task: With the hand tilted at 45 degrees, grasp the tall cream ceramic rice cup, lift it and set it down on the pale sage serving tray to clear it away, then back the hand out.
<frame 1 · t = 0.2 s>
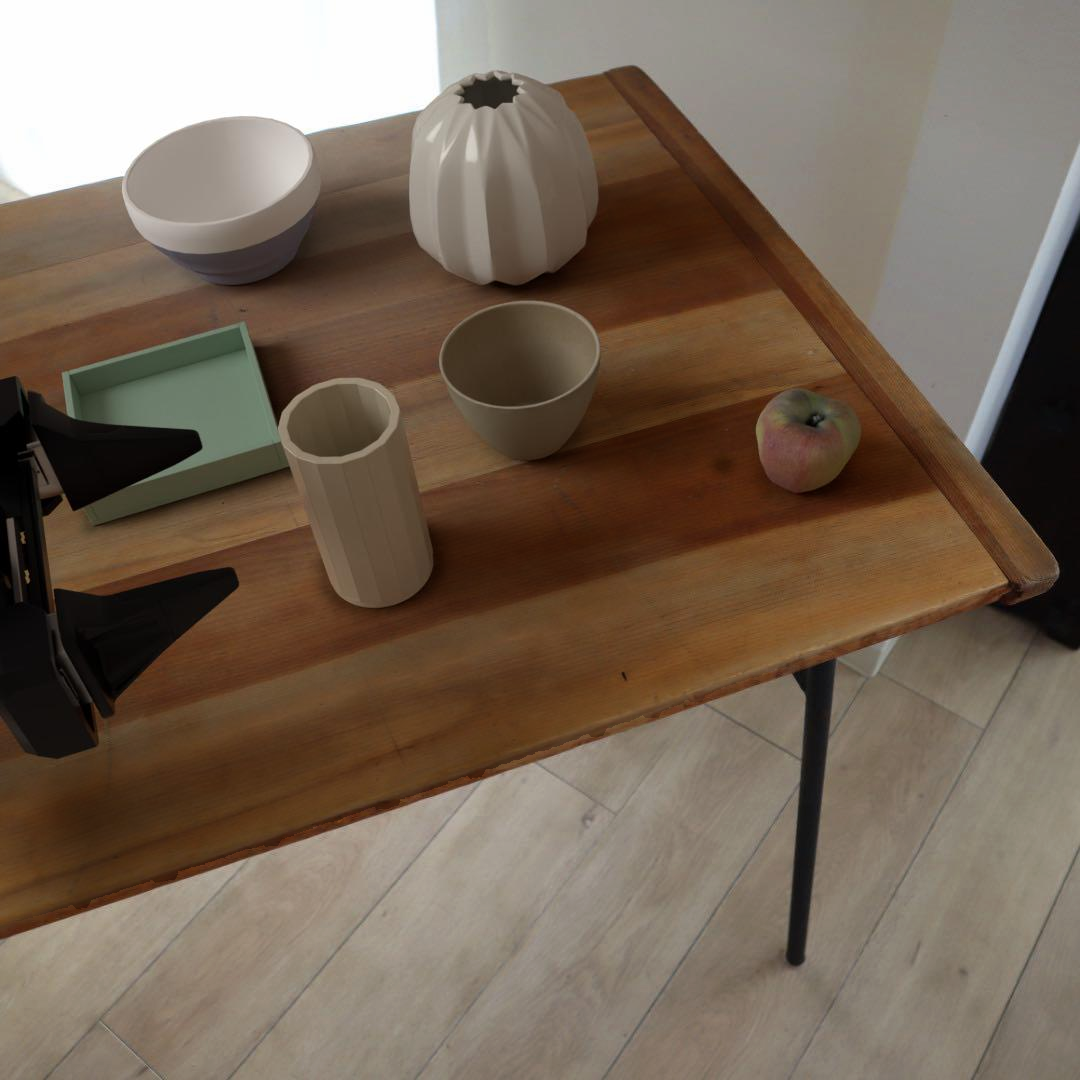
hand: (217, 504, 54), 16 cm above the table, tool horizontal, fingers open, 9 cm apart
rice cup: (381, 565, 72), on the table
bowl: (246, 254, 93), on the table
vase: (509, 254, 90), on the table
serving tray: (178, 430, 80), on the table
flower pot: (529, 435, 78), on the table
apple: (791, 474, 74), on the table
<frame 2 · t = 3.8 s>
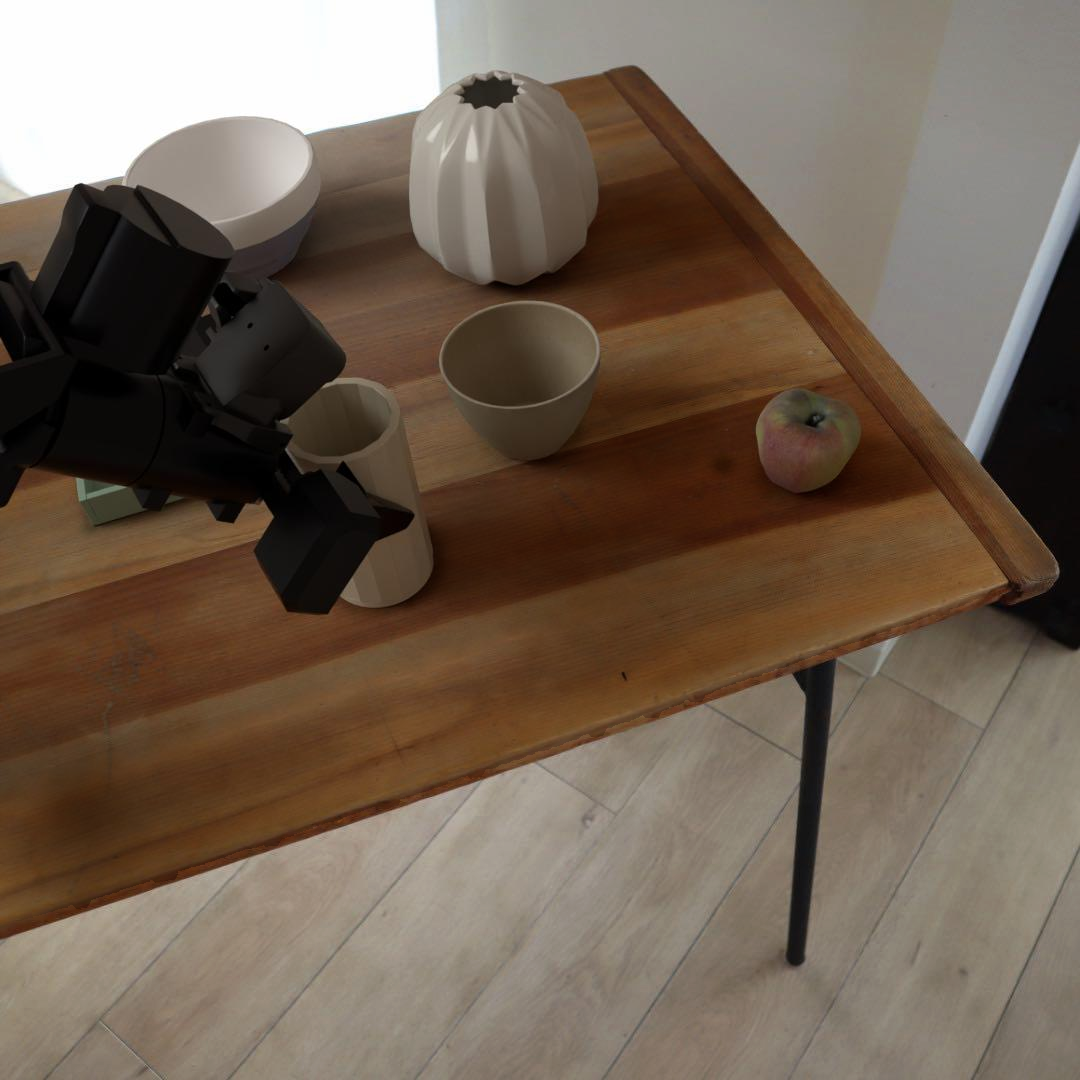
hand: (382, 483, 67), 7 cm above the table, tool tilted 45°, fingers closed on rice cup, 6 cm apart
rice cup: (381, 565, 72), on the table, touching gripper
everything else where it was.
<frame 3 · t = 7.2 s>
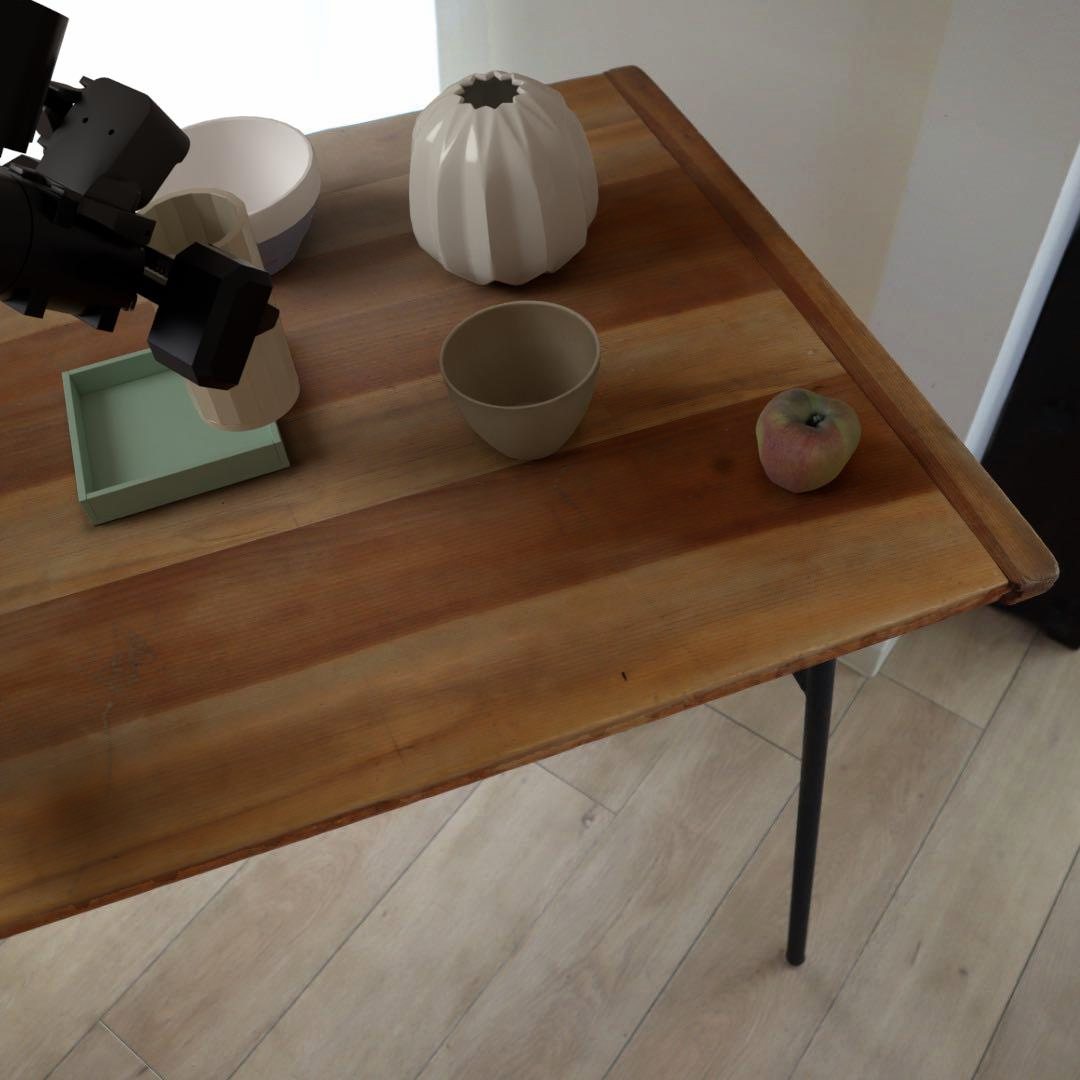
hand: (235, 297, 68), 13 cm above the table, tool tilted 45°, fingers closed on rice cup, 6 cm apart
rice cup: (248, 394, 72), point 7 cm above the table, touching gripper
everything else where it was.
when the fingers open (7 cm above the table, at t = 10.7 s): rice cup stays where it is, resting on serving tray.
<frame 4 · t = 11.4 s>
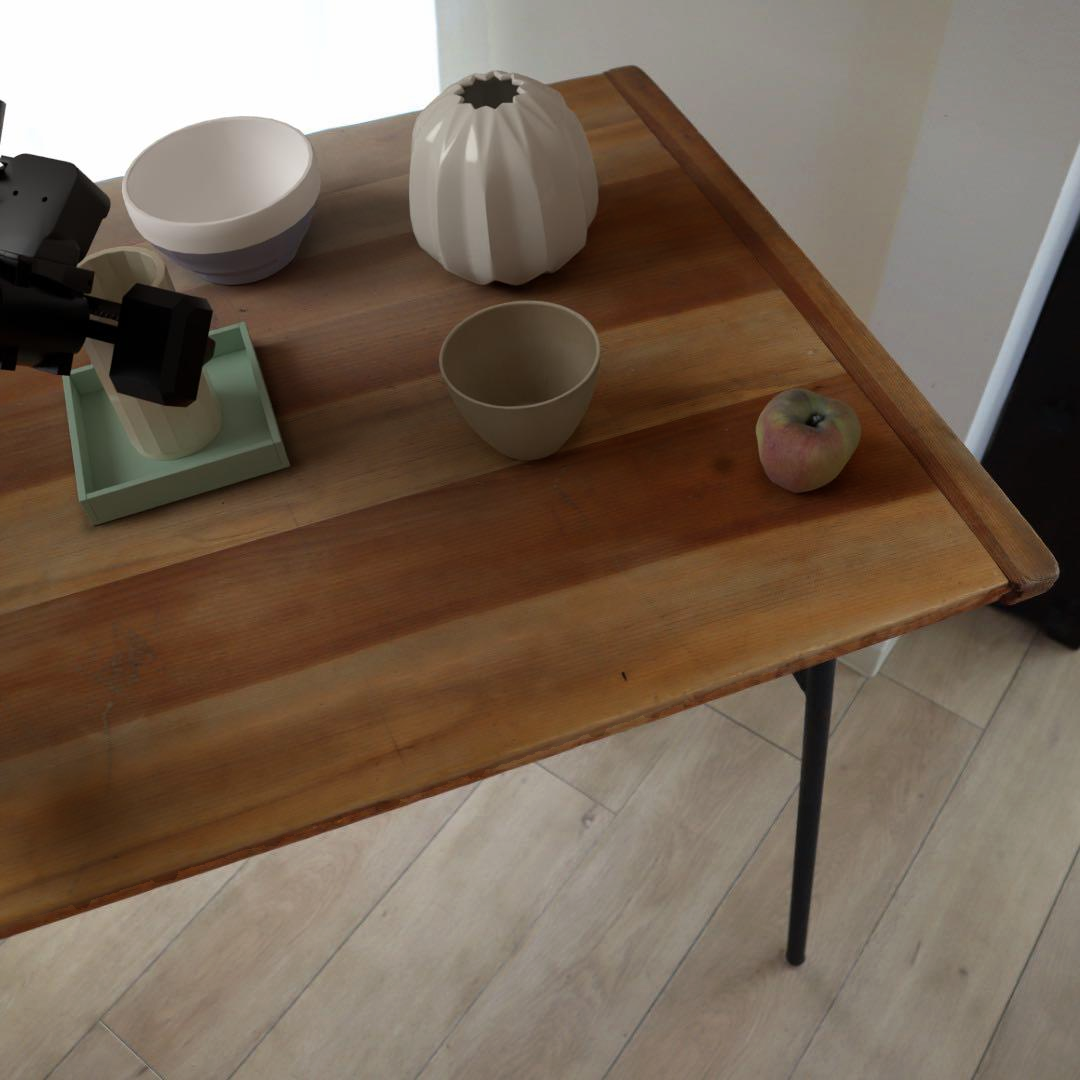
hand: (152, 334, 75), 8 cm above the table, tool tilted 45°, fingers open, 9 cm apart
rice cup: (176, 426, 80), resting on serving tray
everything else where it was.
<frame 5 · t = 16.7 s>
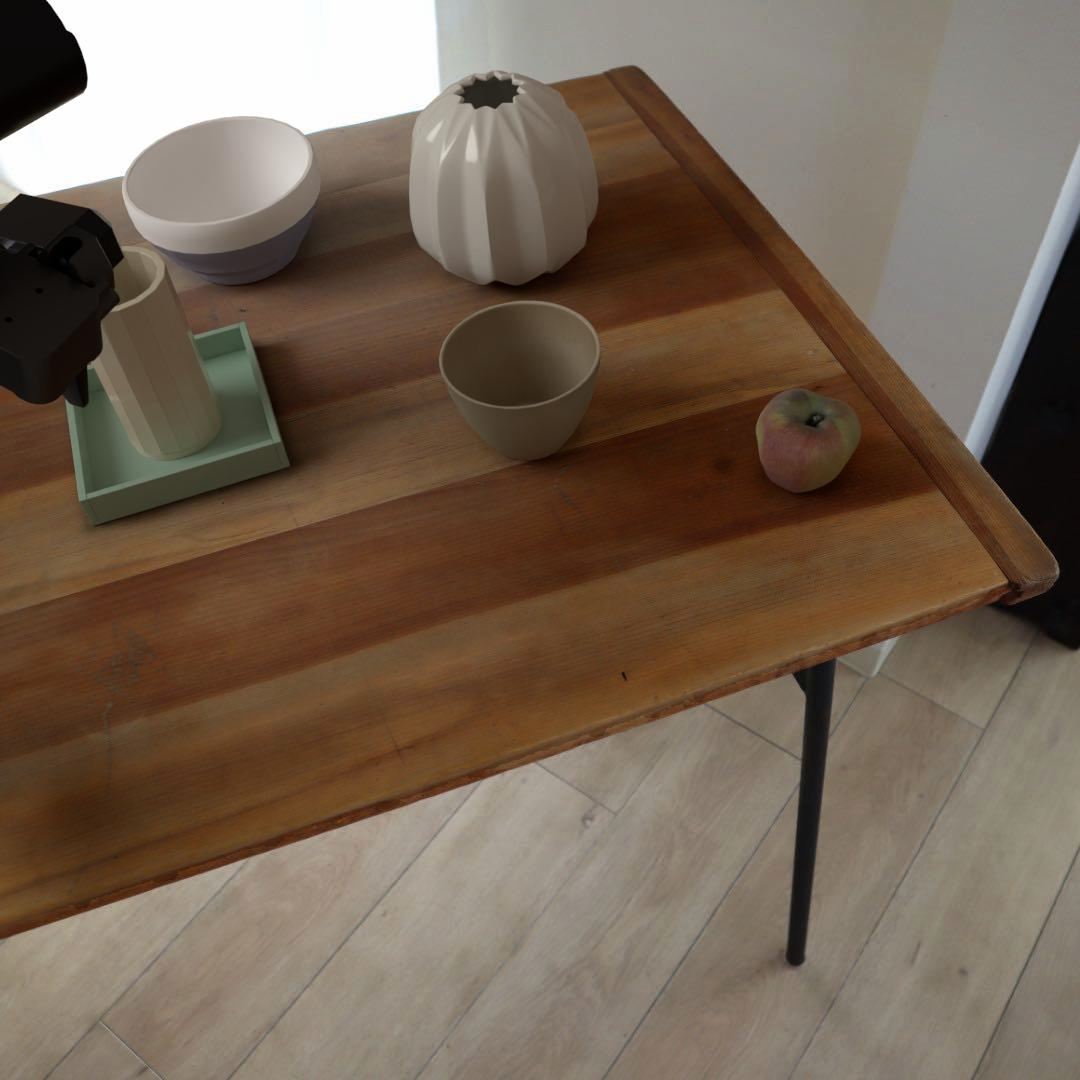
hand: (25, 463, 61), 13 cm above the table, tool pointing down, fingers open, 9 cm apart
nothing on the table moved.
at the end: rice cup inside the target area in the serving tray (0.0 cm from its centre), point 0.4 cm above the serving tray's base; rice cup tilted 0°; bowl moved 0.2 cm from its start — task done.
